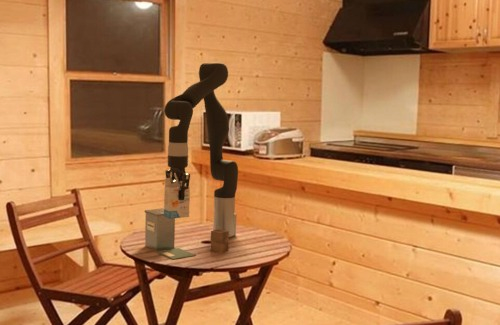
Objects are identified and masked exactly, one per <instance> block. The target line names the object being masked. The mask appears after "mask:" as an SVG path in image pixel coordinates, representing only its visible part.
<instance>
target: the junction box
mask: <svg viewBox="0 0 500 325" xmlns="http://www.w3.org/2000/svg"><path fill="white" fill-rule="evenodd" d="M144 213H145V225H144V226H145V227H144V228H145V229H144V230H145V231H144V236H145V237H144V239H145V240H144V243H145V244H144V245H145V248H148V249H150V250H153V251H155V252H157V251H163V250H169V249H175V236H176V235H175V232H176V231H175V230H176V218H171V219H169V218H167V217H164V207H163V208H155V209H152V208H151V209H144Z"/></svg>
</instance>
